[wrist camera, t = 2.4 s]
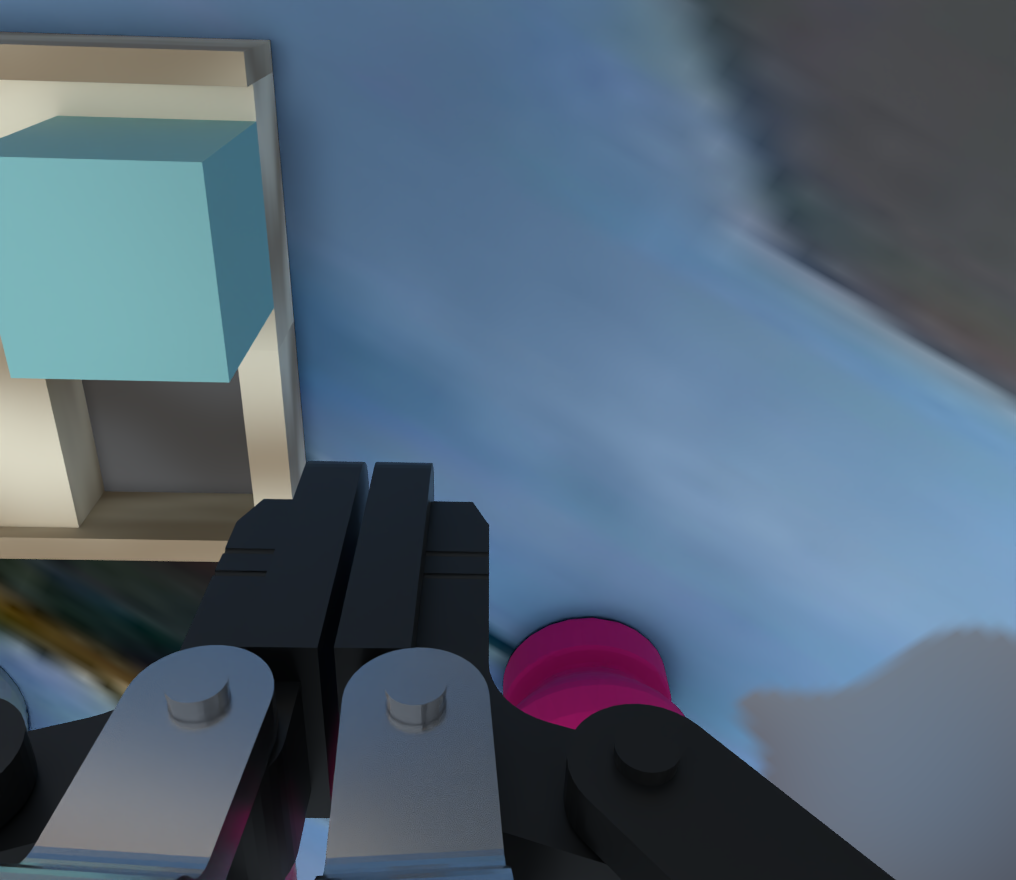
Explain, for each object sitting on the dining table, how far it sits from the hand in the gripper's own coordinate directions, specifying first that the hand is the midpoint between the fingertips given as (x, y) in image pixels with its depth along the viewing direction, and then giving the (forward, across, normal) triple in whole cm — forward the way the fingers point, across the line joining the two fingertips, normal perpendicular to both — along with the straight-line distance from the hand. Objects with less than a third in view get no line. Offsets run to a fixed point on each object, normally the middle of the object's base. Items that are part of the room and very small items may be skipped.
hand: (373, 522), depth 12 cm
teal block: (+15, +7, 0) cm, 16 cm away
